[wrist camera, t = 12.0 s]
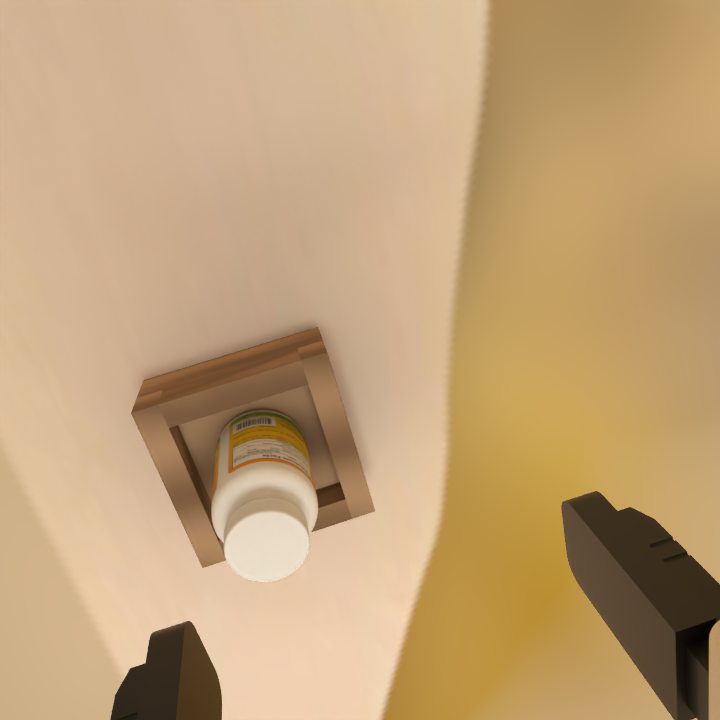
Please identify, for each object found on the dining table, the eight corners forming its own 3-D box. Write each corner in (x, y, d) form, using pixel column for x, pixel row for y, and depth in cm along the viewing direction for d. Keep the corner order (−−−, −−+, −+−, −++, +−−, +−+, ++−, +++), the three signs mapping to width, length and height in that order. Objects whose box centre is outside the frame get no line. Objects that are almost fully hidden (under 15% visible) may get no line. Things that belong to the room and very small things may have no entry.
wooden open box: (143, 380, 37) (131, 413, 33) (317, 327, 38) (326, 352, 34) (206, 523, 42) (202, 567, 38) (362, 473, 42) (375, 510, 38)
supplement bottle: (268, 500, 39) (276, 612, 30) (197, 456, 37) (183, 562, 28) (323, 438, 38) (348, 535, 29) (253, 389, 36) (257, 477, 27)
